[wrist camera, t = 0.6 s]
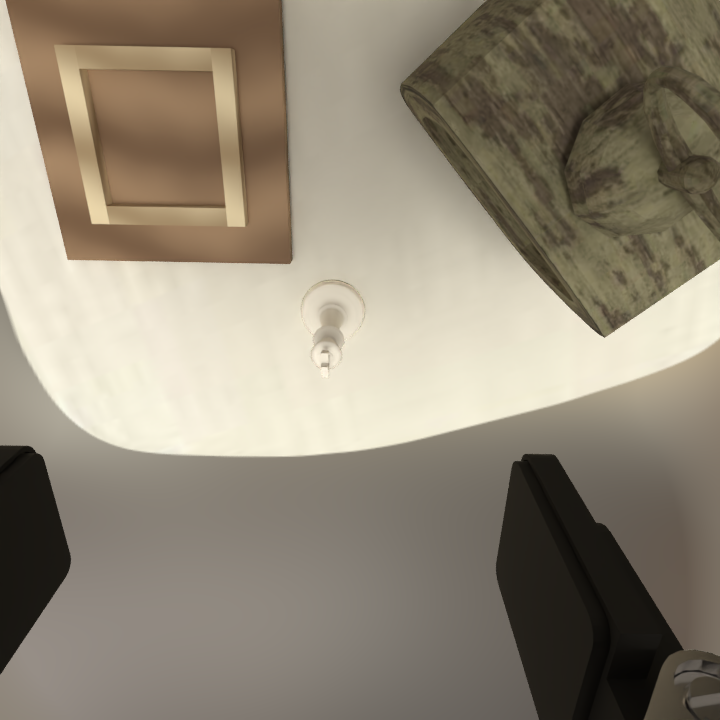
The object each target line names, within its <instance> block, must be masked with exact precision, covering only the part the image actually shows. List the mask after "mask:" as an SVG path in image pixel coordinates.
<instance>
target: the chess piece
mask: <svg viewBox="0 0 720 720" xmlns="http://www.w3.org/2000/svg"><path fill="white" fill-rule="evenodd" d="M301 314H302V320H303V322H304V325H305V327H306V328H307V329H308V331H309V332H310V333H311V334H312V335H314V336H313V343H314V347H313V348H312V350H311V359H312V362H313V363H314V364H315V365H316V366H317V367H319V368H321V374H322V378H329V369H333V368H335V367H336V366H338V365H339V364H340V362H341V360H342V351H341V349H342V347H343V345H344V340H346V339H348V338H350V337H351V336H353V335H354V334H355V333H356V332H357V331H358V330H359V328H360V327H361V324H362V322H363V319H364V315H365V307H364V302H363V300H362V298H361V296H360V294H359V293H358V292H357V291H356V290H355V289H354V288H353V287H352V286H350V285H349V284H347V283H344V282H341V281H336V280H329V281H323V282H320V283H318V284H316V285H314V286H313V287H312V288H311V289H309V291H308V292H307V293H306V295H305V296H304V298H303V301H302V305H301Z"/></svg>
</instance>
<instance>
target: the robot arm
mask: <svg viewBox="0 0 720 720" xmlns="http://www.w3.org/2000/svg"><path fill="white" fill-rule="evenodd" d="M70 564H71V556H70V552H69V549H68V545H67V541H66V538H65V534H64V530H63V527H62V523H61V519H60V516H59V512H58V509H57V505H56V501H55V498H54V494H53V491H52V487H51V483H50V480H49V476H48V472H47V469H46V465H45V462H44V459H43V457H42V456H41V455H40V454H37V453H36V452H35V450H34V449H33V448H32V447H30V446H0V674H1V673H2V671H3V670H4V668H5V667H6V665H7V664H8V662H9V661H10V659H11V658H12V656H13V655H14V653H15V652H16V650H17V649H18V647H19V646H20V644H21V643H22V641H23V640H24V638H25V637H26V635H27V634H28V633H29V631H30V630H31V628H32V627H33V625H34V624H35V622H36V621H37V619H38V618H39V616H40V615H41V613H42V612H43V610H44V609H45V607H46V606H47V604H48V603H49V601H50V600H51V598H52V597H53V595H54V594H55V592H56V591H57V589H58V588H59V586H60V584H61V583H62V582H63V580H64V579H65V577H66V575H67V573H68V571H69V568H70ZM496 574H497V580H498V584H499V588H500V591H501V594H502V597H503V601H504V604H505V608H506V611H507V614H508V618H509V621H510V624H511V628H512V631H513V634H514V637H515V641H516V644H517V648H518V651H519V654H520V657H521V661H522V664H523V667H524V671H525V674H526V677H527V680H528V684H529V687H530V690H531V694H532V697H533V701H534V704H535V707H536V710H537V714H538V717H539V720H720V656H718V655H715V654H713V653H709V652H704V651H699V650H684V649H683V648H682V646H681V645H680V643H679V641H678V640H677V638H676V637H675V635H674V633H673V632H672V630H671V628H670V627H669V625H668V624H667V622H666V620H665V619H664V617H663V616H662V614H661V612H660V611H659V609H658V608H657V606H656V604H655V603H654V601H653V600H652V598H651V596H650V595H649V593H648V592H647V590H646V588H645V587H644V585H643V584H642V582H641V580H640V579H639V577H638V575H637V574H636V572H635V571H634V569H633V568H632V566H631V564H630V563H629V561H628V559H627V558H626V556H625V555H624V553H623V551H622V550H621V548H620V546H619V545H618V543H617V542H616V540H615V538H614V537H613V535H612V534H611V532H610V531H609V530H608V528H607V527H606V526H605V525H603V524H601V523H596V522H595V520H594V519H593V517H592V516H591V514H590V512H589V510H588V509H587V507H586V505H585V504H584V502H583V500H582V499H581V497H580V495H579V494H578V492H577V490H576V489H575V487H574V485H573V484H572V482H571V481H570V479H569V477H568V475H567V474H566V472H565V470H564V469H563V467H562V465H561V464H560V462H559V460H558V459H557V457H556V456H555V455H552V454H525V455H523V457H522V460H521V461H515V462H514V463H513V465H512V470H511V476H510V482H509V488H508V494H507V501H506V507H505V513H504V520H503V526H502V532H501V537H500V544H499V550H498V556H497V562H496Z"/></svg>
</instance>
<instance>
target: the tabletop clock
mask: <svg viewBox="0 0 720 720" xmlns="http://www.w3.org/2000/svg"><path fill="white" fill-rule="evenodd" d="M400 92H401V95H402V97H403V99H404V101H405V102H406V104H407V106H408V107H409V108H410V110H411V111H412V113H413V114H414V115H415V117H416V118H417V120H418V121H419V122H420V124H421V125H422V126H423V128H424V129H425V130H426V132H427V133H428V135H429V136H430V137H431V138H432V140H433V141H434V142H435V144H436V145H437V146H438V148H439V149H440V150H441V152H442V153H443V154H444V156H445V157H446V158H447V160H448V161H449V162H450V164H451V165H452V166H453V168H454V169H455V170H456V172H457V173H458V174H459V176H460V177H461V178H462V180H463V181H464V182H465V184H466V185H467V186H468V188H469V189H470V190H471V191H472V193H473V194H474V195H475V197H476V198H477V199H478V201H479V202H480V203H481V204H482V206H483V207H484V208H485V210H486V211H487V212H488V214H489V215H490V216H491V217H492V219H493V220H494V221H495V223H496V224H497V225H498V227H499V228H500V229H501V230H502V232H503V233H504V234H505V236H506V237H507V238H508V239H509V241H510V242H511V243H512V245H513V246H514V247H515V248H516V250H517V251H518V252H519V253H520V255H521V256H522V257H523V258H524V260H525V261H526V262H527V263H528V264H529V265H530V267H531V268H532V269H533V270H534V271H535V272H536V273H537V274H538V275H539V276H540V278H541V279H542V280H543V281H544V282H545V283H546V284H547V285H548V286H549V287H550V288H551V289H552V290H553V291H554V292H555V293H556V294H557V295H558V296H559V297H560V298H561V299H562V300H563V301H564V302H565V303H566V305H567V306H568V307H570V308H571V309H572V310H573V311H574V312H575V313H576V314H577V315H578V316H579V317H580V318H581V319H582V320H583V321H584V322H585V323H586V324H587V325H589V326H590V327H591V328H592V329H593V330H594V331H595V332H597V333H598V334H599V335H601V336H603V337H604V338H605V337H606V336H608V335H609V334H611V333H612V332H614V331H615V330H617V329H618V328H620V327H621V326H623V325H624V324H625V323H627V322H628V321H630V320H631V319H633V318H634V317H636V316H637V315H639V314H640V313H642V312H643V311H645V310H646V309H648V308H649V307H650V306H652V305H653V304H655V303H656V302H658V301H659V300H661V299H662V298H664V297H665V296H667V295H668V294H670V293H671V292H673V291H674V290H675V289H677V288H678V287H680V286H681V285H683V284H684V283H686V282H687V281H689V280H690V279H692V278H693V277H695V276H696V275H697V274H699V273H700V272H702V271H703V270H705V269H706V268H708V267H709V266H711V265H712V264H714V263H715V262H717V261H718V260H720V0H487V1H486V2H485V3H484V4H483V5H482V6H481V7H480V8H479V9H477V10H476V11H475V12H474V13H473V14H472V15H471V16H470V17H469V18H468V19H467V20H466V21H465V22H464V23H463V24H462V25H461V26H460V27H459V28H458V29H457V30H456V31H455V32H454V33H453V34H452V35H451V36H450V37H449V38H448V39H447V40H446V41H445V42H444V43H443V44H442V45H441V46H440V47H439V48H438V49H437V50H436V51H435V52H433V53H432V54H431V55H430V56H429V57H428V58H427V59H426V60H425V61H424V62H423V63H422V64H421V65H420V66H419V67H418V68H417V69H416V70H415V71H414V72H413V73H412V74H411V75H410V76H409V77H408V78H407V79H406V80H405V81H404V82H403V83H402V84H401V87H400Z"/></svg>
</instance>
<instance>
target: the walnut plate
mask: <svg viewBox="0 0 720 720" xmlns="http://www.w3.org/2000/svg"><path fill="white" fill-rule="evenodd" d="M6 4H7V9H8V13H9V17H10V21H11V25H12V29H13V34H14V38H15V42H16V46H17V50H18V54H19V59H20V63H21V67H22V71H23V75H24V79H25V84H26V88H27V92H28V96H29V100H30V104H31V109H32V113H33V117H34V121H35V125H36V129H37V133H38V138H39V142H40V146H41V150H42V154H43V158H44V163H45V167H46V171H47V175H48V179H49V183H50V188H51V192H52V196H53V200H54V204H55V208H56V213H57V217H58V221H59V225H60V229H61V233H62V238H63V242H64V246H65V250H66V254H67V258H68V260H110V261H163V262H216V263H269V264H290V263H291V261H292V241H291V217H290V193H289V169H288V145H287V122H286V98H285V74H284V50H283V26H282V2H281V0H6Z"/></svg>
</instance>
